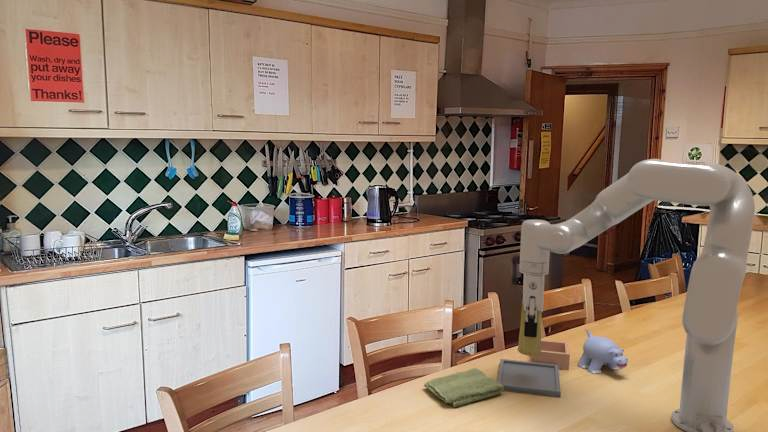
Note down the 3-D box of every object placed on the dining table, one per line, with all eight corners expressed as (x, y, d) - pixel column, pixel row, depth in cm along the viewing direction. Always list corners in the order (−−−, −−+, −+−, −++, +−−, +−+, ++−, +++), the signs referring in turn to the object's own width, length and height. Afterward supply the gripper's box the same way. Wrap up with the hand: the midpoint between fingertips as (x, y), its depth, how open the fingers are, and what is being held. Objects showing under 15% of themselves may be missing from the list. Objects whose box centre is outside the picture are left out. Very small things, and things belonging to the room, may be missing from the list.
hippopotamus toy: (608, 382, 158) (610, 348, 157) (569, 362, 172) (571, 331, 171) (637, 376, 163) (640, 343, 161) (598, 357, 176) (600, 326, 175)
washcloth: (421, 389, 153) (421, 377, 152) (477, 376, 161) (477, 365, 160) (448, 410, 141) (448, 397, 141) (507, 395, 149) (508, 383, 148)
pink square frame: (568, 369, 166) (569, 354, 166) (532, 365, 169) (533, 350, 168) (567, 356, 176) (567, 342, 175) (532, 353, 178) (533, 339, 178)
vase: (541, 357, 155) (544, 304, 153) (517, 354, 156) (520, 302, 154) (540, 348, 161) (543, 298, 159) (517, 346, 162) (519, 296, 160)
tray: (560, 397, 149) (560, 391, 149) (496, 389, 153) (496, 384, 153) (557, 369, 166) (558, 364, 166) (500, 363, 170) (500, 358, 170)
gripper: (549, 275, 146) (545, 345, 148) (548, 260, 162) (544, 324, 165) (518, 273, 148) (514, 342, 150) (520, 259, 164) (517, 321, 167)
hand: (530, 332), depth 158 cm, fingers closed on vase, 5 cm apart
